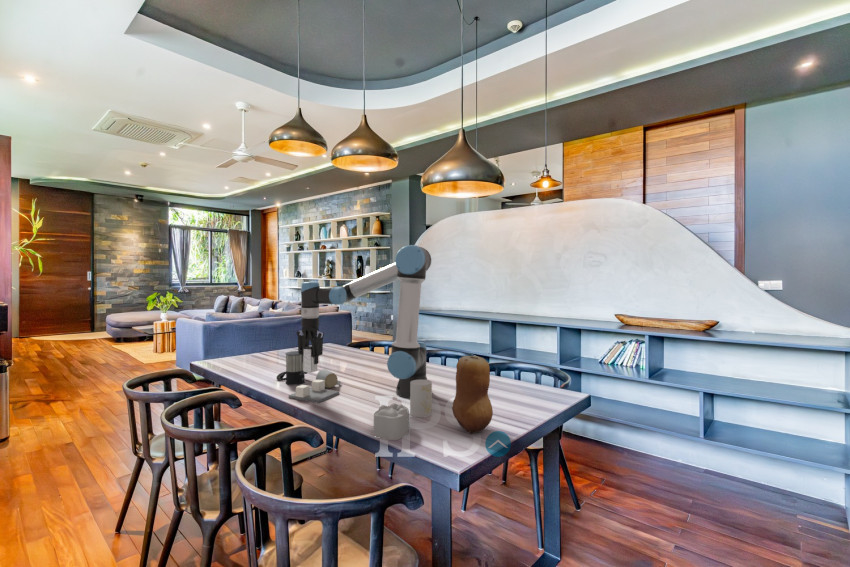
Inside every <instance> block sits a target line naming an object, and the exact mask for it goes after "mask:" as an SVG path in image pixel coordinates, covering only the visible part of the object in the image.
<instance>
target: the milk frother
mask: <svg viewBox="0 0 850 567" xmlns="http://www.w3.org/2000/svg"><path fill="white" fill-rule="evenodd" d="M307 374H308V372H304V371H303V362H302V355H301V354H299V353H298V350H293V351H292V350H291V351H287V352H285V371H283V372H281V373H279V374H277V376H276V380H277V381H281V380H284V381H285V384H286V385H289V384H297V385H301V384H300V383H302V384H304V383H306V378H305V376H306V375H307ZM303 382H304V383H303Z"/></svg>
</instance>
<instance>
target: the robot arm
mask: <svg viewBox="0 0 850 567" xmlns="http://www.w3.org/2000/svg"><path fill="white" fill-rule="evenodd" d="M431 265H432V256H431V253H430V251H429V250H427V249H426V248H424V247H421V246H418V245H416V244H415V245H414V244H409V245H404V246H402V247H401V248H400V249H399V250H398V251H397V253H396V255H395V258H394V262H393V263H391V264H388V265H386V266H384V267H382V268H379V269H377V270H374V271H373V272H370V273H368V274H366V275H364V276H362V277H359V278H357V279H355V280H352V281H350V282H348V283H345V284H344V285H338V286H320V283H319V282H318V281H304V282H302V283H301V287H300V288H301V291H300V295H301V296H300V297H301V298H300V299H301V300H300V301H301V302H300V304H301V306H300V308H301V312H300V313H301V319H300V325H301V327H302V328H301V330H299V331H298V330H297V331H296V335H297V351H298V353H299V354H301V355H302V362H303V371H304V349H305V346H310V344H311V346H312V350H313V356H312V373H315V372H317V371H318V364H319V357H321V356H322V355H323V350H324V349H323V348H324V345H323V344H324V336H325V333H324V332H321V331H320V329H319V326H320V318H319V317H320V305H335V306H336V305H338V306H339V305H343V304H345V303H349V302H352V301H353V300H354V299H357V298H358V297H360V296H363V295H366V294H368V293H370V292H373V291H375V290H377V289H379V288H382V287H384V286H386V285H389V284H391V283H393V282H396V281H400V283H399V294H398V295H399V297H398V308H397V309H398V310H397V324H396V333H395V334H396V336H395V340H394V341H392V342H391V349H390V350H391V353H390V355H389V357H388V359H387V363H386V364H387V366H386V367H387V370H388V371H389V373H390V375H391V376H393V377H394V378H396V379H398V382H397V385H396V388H395V394H396V395H397V396H398V395H399V397H403V398H409V399H410V382H411V381H413V380H428V377H427V344H426V343H425V342H424V341H418V328H419V316H420V304H421V292H422V291H421V290H422V289H421V288H422V283H423V282H425V280H426V278H427V277H426V276H427V275H426V274H427V271H428V270H429V269H430V267H431Z"/></svg>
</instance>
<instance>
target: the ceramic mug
mask: <svg viewBox="0 0 850 567" xmlns="http://www.w3.org/2000/svg"><path fill="white" fill-rule="evenodd" d="M315 376H316V377H315V380H325V389H332V388H334V387H335V386H336V385H338V386H341V383H342V381H340V380H338V379H339V378H338V376H337V374H335V373H334V372H332V371H330V370H328V369H324V368H323V369H321V370H319V371H318V372H317V374H316V375H315Z"/></svg>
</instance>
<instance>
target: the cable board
mask: <svg viewBox="0 0 850 567" xmlns="http://www.w3.org/2000/svg"><path fill="white" fill-rule="evenodd" d="M335 395H336V396H339V395H340V391H339V390H333V389H327V388H326V387H325V380H316V379H314V380H312V381H311V387H310V385H306V384H299V385H298V386H296V387H295V392H294V393H291V394H288V398H289V399H292V398H295V399H294V400H298V399H300V400H299V401H304V400H307V401H306V402H310V401H311V402H312V403H316V402H317V403H318V404H320V403H321V402H324V401H326V400H329V399H331V398H333V396H334V397H336V396H335Z"/></svg>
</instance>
